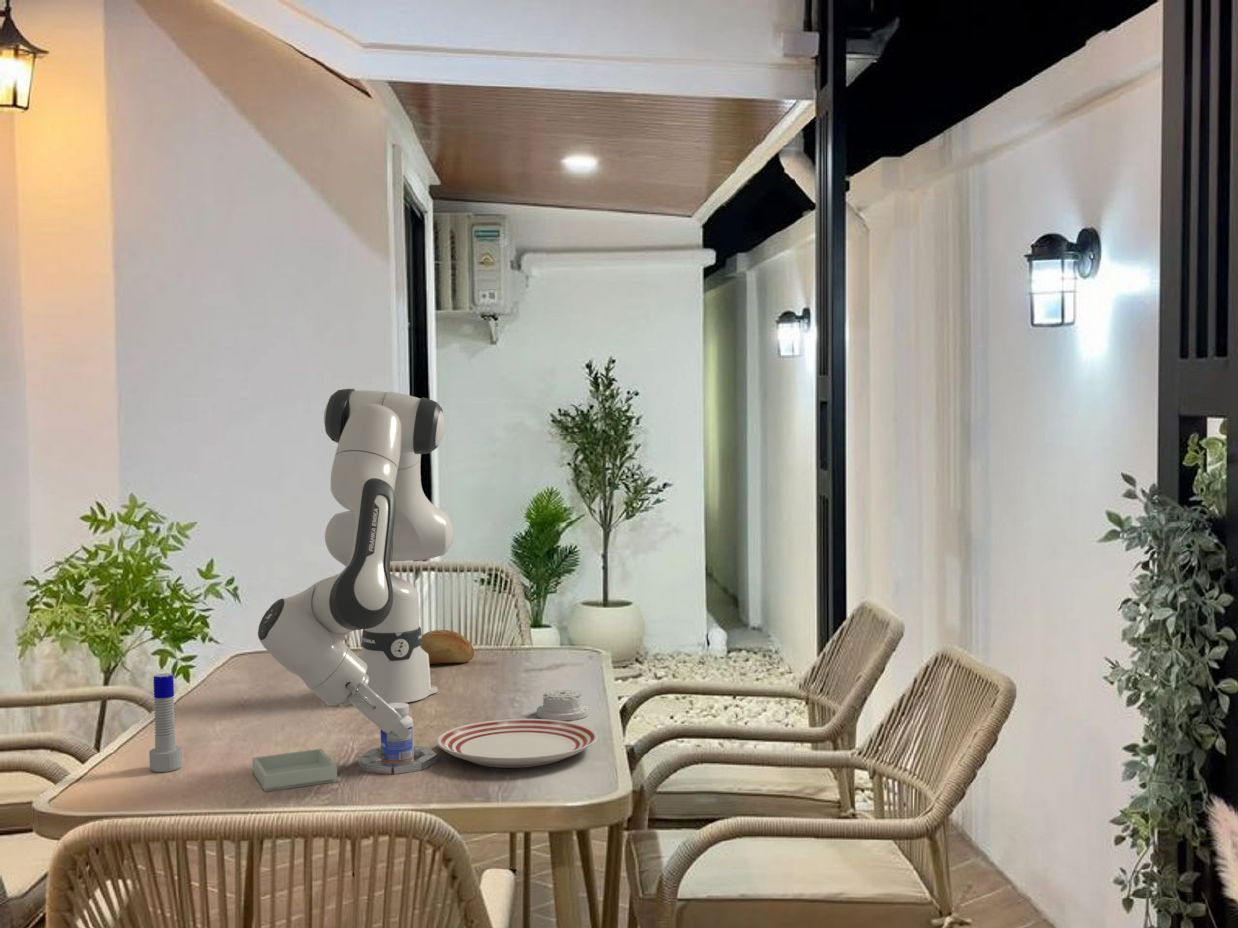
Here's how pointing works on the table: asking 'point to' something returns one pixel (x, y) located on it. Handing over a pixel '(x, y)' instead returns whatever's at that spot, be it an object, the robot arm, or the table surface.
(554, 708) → the mechanical component
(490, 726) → the dinner plate
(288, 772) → the bin
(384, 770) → the collar
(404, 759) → the pill bottle
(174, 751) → the bolt
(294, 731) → the table surface
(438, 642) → the bread roll
